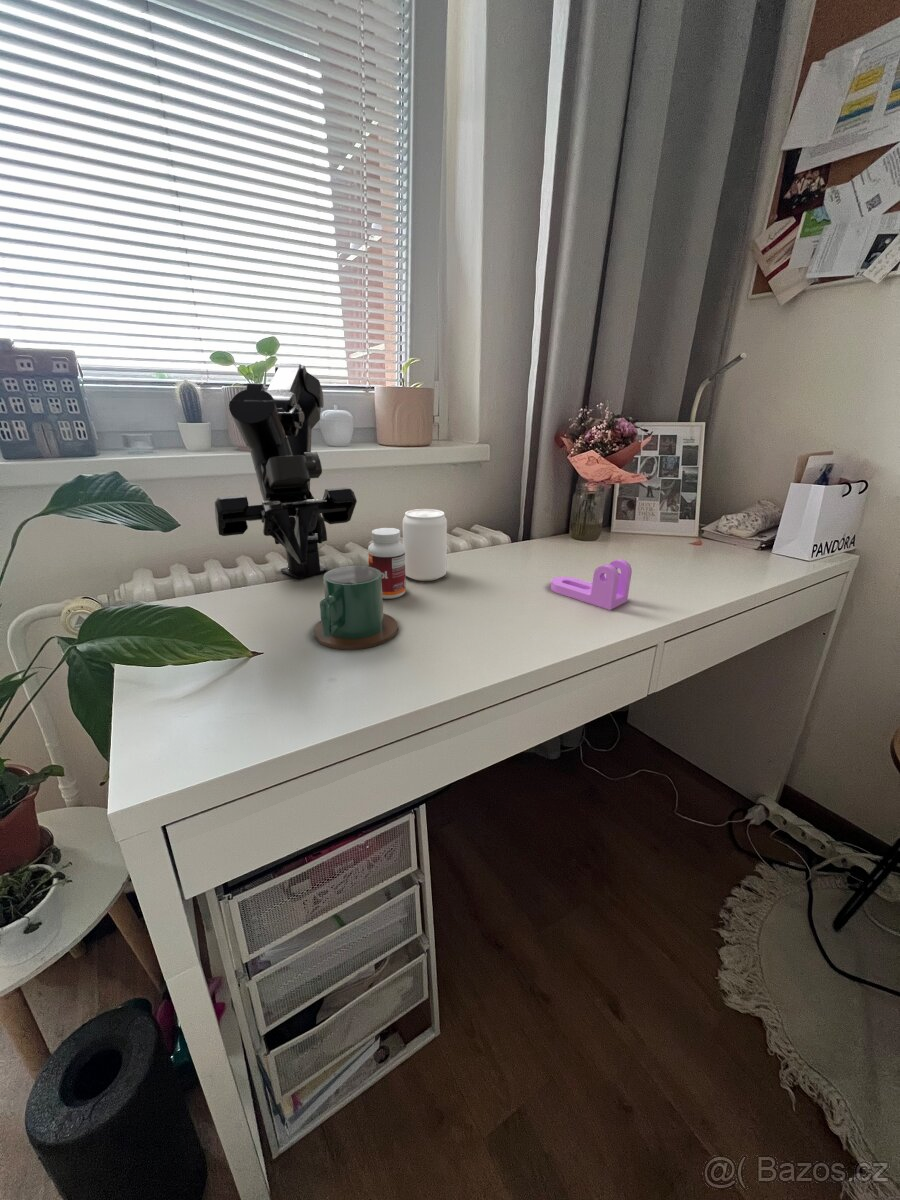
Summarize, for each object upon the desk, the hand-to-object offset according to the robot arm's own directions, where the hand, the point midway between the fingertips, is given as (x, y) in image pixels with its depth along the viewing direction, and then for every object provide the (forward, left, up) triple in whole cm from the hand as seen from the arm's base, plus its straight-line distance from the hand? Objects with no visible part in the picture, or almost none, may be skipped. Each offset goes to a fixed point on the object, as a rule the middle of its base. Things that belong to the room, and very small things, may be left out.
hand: (303, 562), depth 69 cm
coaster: (+4, +5, -10) cm, 12 cm away
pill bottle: (-4, +18, -11) cm, 21 cm away
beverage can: (-6, +29, -11) cm, 31 cm away
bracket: (+21, +41, -11) cm, 48 cm away
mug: (+5, +3, -10) cm, 12 cm away
